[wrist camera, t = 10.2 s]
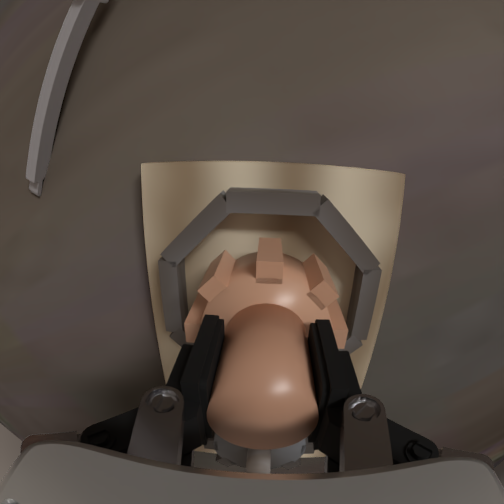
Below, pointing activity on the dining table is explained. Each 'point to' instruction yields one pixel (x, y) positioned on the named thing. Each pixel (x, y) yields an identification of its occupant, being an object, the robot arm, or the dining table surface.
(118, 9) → the dining table surface
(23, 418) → the dining table surface
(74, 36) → the caliper
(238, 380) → the planet gear
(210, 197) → the carrier
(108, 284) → the dining table surface
